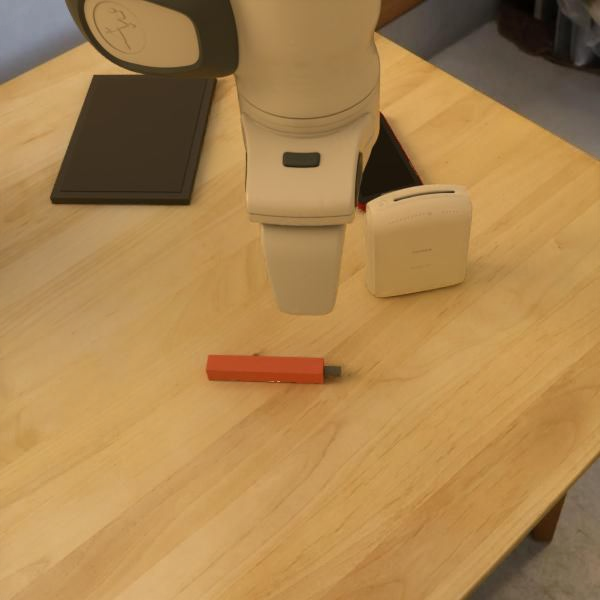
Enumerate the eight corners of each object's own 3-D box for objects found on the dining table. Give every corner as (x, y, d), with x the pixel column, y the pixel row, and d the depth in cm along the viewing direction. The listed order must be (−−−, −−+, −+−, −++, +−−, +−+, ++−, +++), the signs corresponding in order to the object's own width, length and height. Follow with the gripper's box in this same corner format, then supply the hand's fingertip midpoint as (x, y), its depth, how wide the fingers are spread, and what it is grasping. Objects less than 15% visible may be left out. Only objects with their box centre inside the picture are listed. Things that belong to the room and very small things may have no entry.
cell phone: (379, 114, 103) (379, 107, 102) (427, 196, 94) (427, 189, 93) (318, 130, 102) (318, 123, 101) (360, 214, 93) (360, 208, 92)
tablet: (51, 203, 97) (49, 196, 96) (95, 80, 111) (93, 73, 110) (189, 205, 96) (188, 198, 95) (217, 80, 109) (215, 73, 108)
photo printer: (369, 303, 85) (369, 219, 76) (361, 271, 88) (359, 185, 78) (470, 286, 86) (482, 200, 76) (458, 255, 89) (469, 167, 79)
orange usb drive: (208, 380, 81) (205, 370, 80) (211, 364, 82) (208, 354, 81) (340, 384, 80) (340, 374, 78) (341, 368, 81) (341, 358, 80)
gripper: (276, 12, 61) (290, 156, 72) (241, 225, 48) (264, 360, 59) (365, 11, 60) (366, 157, 71) (352, 227, 48) (355, 363, 59)
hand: (319, 251), depth 65 cm, fingers open, 8 cm apart
